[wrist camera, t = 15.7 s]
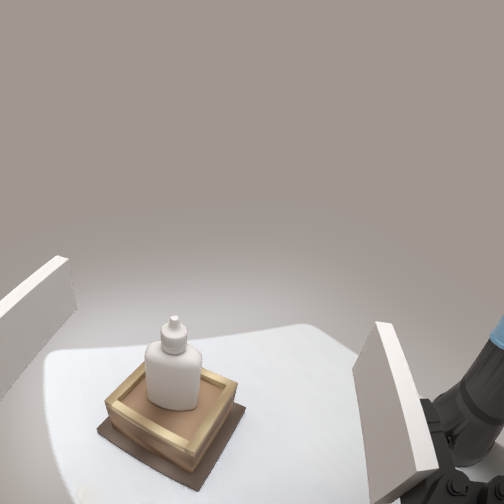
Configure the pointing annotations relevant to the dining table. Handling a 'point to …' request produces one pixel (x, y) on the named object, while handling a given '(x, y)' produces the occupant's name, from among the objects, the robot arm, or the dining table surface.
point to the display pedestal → (173, 427)
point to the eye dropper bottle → (173, 369)
